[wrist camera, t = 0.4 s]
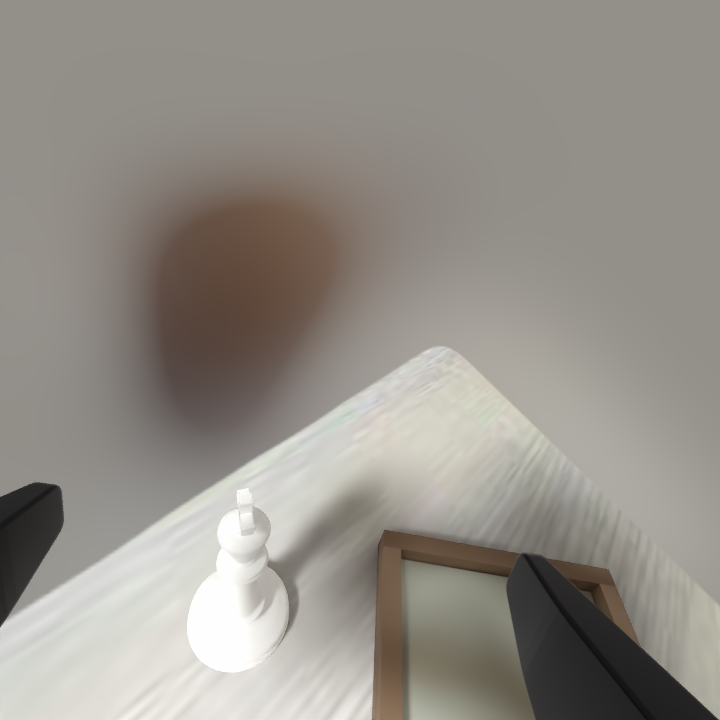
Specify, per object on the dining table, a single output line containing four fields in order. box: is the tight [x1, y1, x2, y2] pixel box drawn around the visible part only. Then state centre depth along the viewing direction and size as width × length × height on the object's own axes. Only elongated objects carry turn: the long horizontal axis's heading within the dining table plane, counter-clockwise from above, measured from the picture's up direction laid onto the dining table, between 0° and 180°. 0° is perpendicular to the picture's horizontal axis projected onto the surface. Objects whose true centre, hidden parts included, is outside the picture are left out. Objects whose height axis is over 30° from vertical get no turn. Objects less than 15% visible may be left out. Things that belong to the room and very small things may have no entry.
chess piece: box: [187, 489, 289, 672], centre depth 18 cm, size 5×5×10 cm
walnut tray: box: [372, 530, 640, 720], centre depth 20 cm, size 14×14×2 cm
